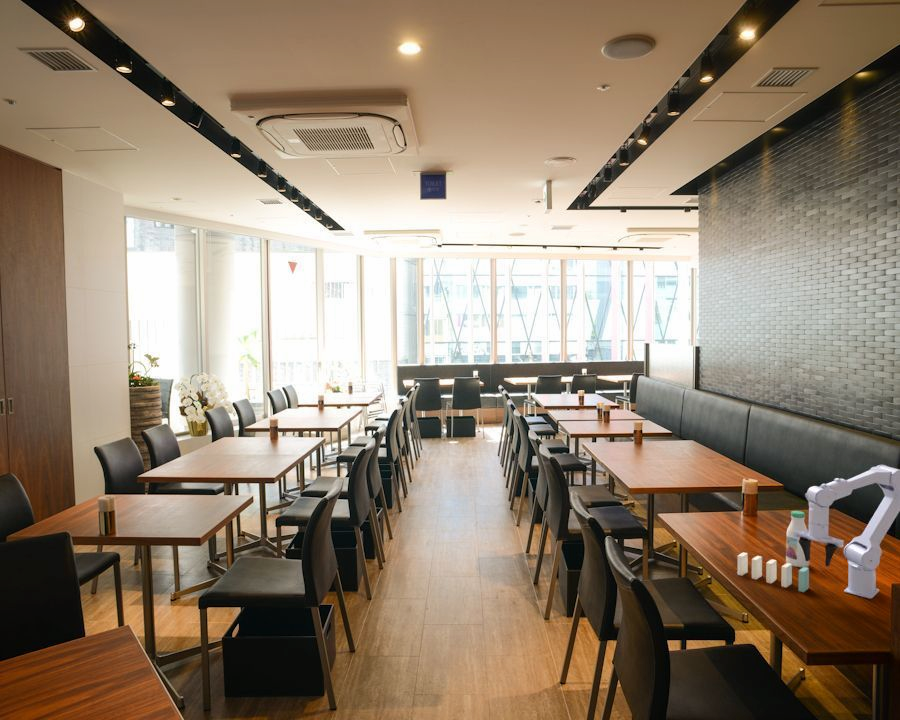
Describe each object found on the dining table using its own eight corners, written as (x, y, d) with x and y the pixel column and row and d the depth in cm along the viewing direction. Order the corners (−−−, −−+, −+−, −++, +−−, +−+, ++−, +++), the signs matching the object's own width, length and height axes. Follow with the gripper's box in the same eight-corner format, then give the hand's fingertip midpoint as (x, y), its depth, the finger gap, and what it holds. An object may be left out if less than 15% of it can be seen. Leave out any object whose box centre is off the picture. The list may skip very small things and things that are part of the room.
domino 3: (771, 578, 221) (771, 559, 221) (776, 579, 220) (776, 560, 220) (766, 582, 218) (766, 562, 217) (771, 583, 216) (771, 563, 216)
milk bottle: (805, 561, 237) (806, 510, 236) (811, 568, 230) (812, 515, 229) (783, 559, 239) (784, 508, 238) (788, 566, 232) (789, 514, 231)
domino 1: (743, 570, 228) (743, 552, 228) (747, 572, 227) (747, 553, 227) (737, 574, 225) (737, 555, 225) (741, 575, 224) (742, 556, 224)
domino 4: (786, 582, 217) (786, 562, 217) (791, 583, 216) (791, 564, 216) (781, 586, 214) (781, 566, 214) (786, 587, 213) (786, 567, 212)
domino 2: (757, 574, 225) (757, 555, 224) (761, 575, 223) (761, 556, 223) (751, 578, 221) (751, 559, 221) (756, 579, 220) (756, 560, 220)
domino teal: (803, 586, 213) (803, 566, 213) (808, 588, 212) (808, 568, 212) (798, 590, 210) (798, 570, 210) (803, 592, 209) (803, 571, 208)
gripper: (790, 520, 209) (789, 559, 210) (839, 530, 199) (838, 571, 199) (798, 516, 214) (797, 555, 215) (846, 526, 203) (845, 566, 204)
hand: (817, 562), depth 207 cm, fingers open, 5 cm apart
